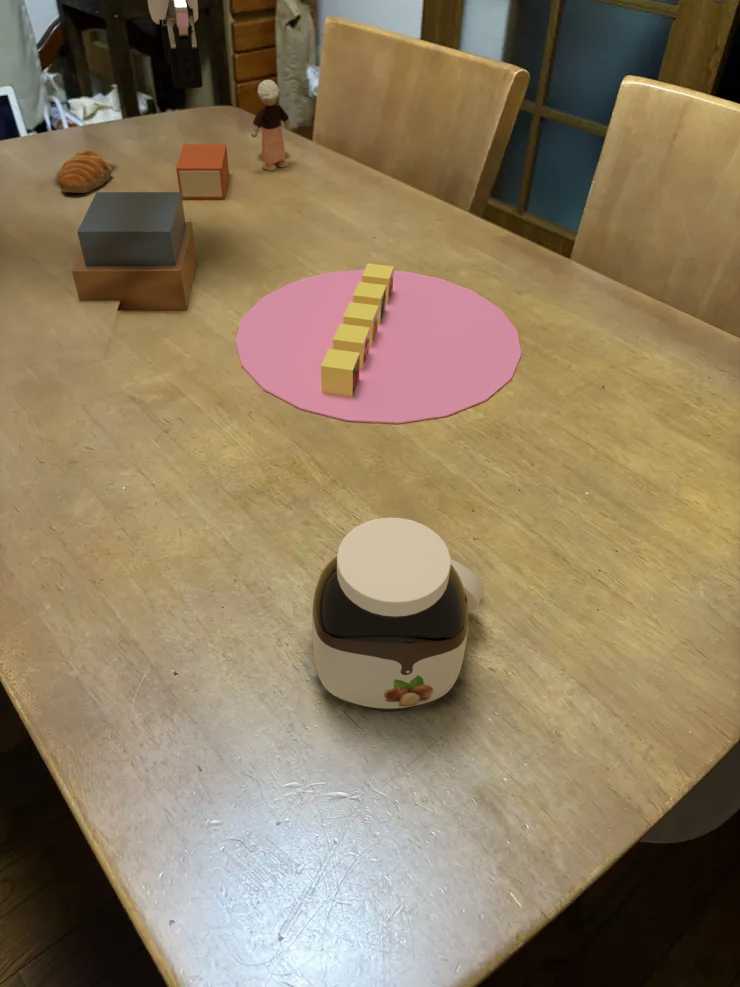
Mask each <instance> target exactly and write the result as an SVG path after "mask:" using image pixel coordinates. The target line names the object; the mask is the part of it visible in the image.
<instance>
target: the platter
mask: <svg viewBox="0 0 740 987" xmlns="http://www.w3.org/2000/svg"><path fill="white" fill-rule="evenodd" d="M234 341H235V342H234V343H235V345H236V350H237V353H238V357H239V361H240V365H241V367H242V369H243V370H244V371H245V372H246V373H247V374H248V375H249V376H250V377H251V378H252V379H253V380H254V381H255V383H256V384H258V385H259V387H260V388H262V389H263V391H265V392H267V393H269V394H271V395H272V396H274V397H276V398H278V399H280V400H281V401H284V402H286V403H287V404H290V406H293V407H295V408H296V409H299V410H301V411H305V412H309V413H313V414H316V415H321V416H324V417H329V418H333V419H337V420H341V421H344V422H351V423H352V422H355V423H371V424H372V423H373V424H375V423H376V424H391V425H392V424H393V425H394V424H396V425H399V424H400V425H401V424H407V423H414V422H421V421H426V420H434V419H441V418H448V417H449V416H452V415H454V414H457V413H459V412H462V411H465V410H467V409H469V408H472V407H474V406H477V405H479V404H482V403H484V402H487V401H488V400H489V399H490V398H491V397H493V395H495V394H496V393H497V392H498V391H499V390H501V389H502V388H503V387H504V386H506V385H507V384H508V383H509V382H510V381H512V379H513V376H514V374H515V372H516V369H517V367H518V364H519V362H520V360H521V357H522V351H521V345H520V339H519V334H518V329H517V328H516V327H515V326H514V324H513V323H512V322H511V320H509V318H508V317H507V315H506V314H505V313H504V312H503V311H502V309H501V308H500V307H499V306H496V305H495V304H494V303H493V302H491V301H489V300H487V299H486V298H484V297H483V296H482V295H481V294H478V293H477V292H476V291H474V290H472V289H470V288H467V287H464V286H461V285H458V284H456V283H454V282H451V281H448V280H446V279H443V278H440V277H435V276H430V275H425V274H420V273H415V272H409V271H406V270H405V271H404V270H395V265H394V266H393V265H386V264H376V263H370V262H369V263H368V262H367V264H366V266H365V268H362V269H351V270H342V271H332V272H324V273H321V274H318V275H314V276H310V277H306V278H303V279H298V280H295V281H291V282H290V283H287V284H286V285H284V286H282V287H280V288H278V289H276V290H274V291H273V292H270V293H268V294H267V295H265V296H263V297H261V298H260V299H259V300H258V301H257V302H256V304H255V305H253V306H252V307H251V308H250V310H248V311H247V312H246V314H244V315H243V316H242V319H241V322H240V325H239V327H238V331H237V334H236V337H235V340H234Z"/></svg>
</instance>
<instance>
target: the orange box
mask: <svg viewBox="0 0 740 987" xmlns="http://www.w3.org/2000/svg"><path fill="white" fill-rule="evenodd" d="M175 169H176V176H177V184H178V190H179V191H178V192H181V195H182V200H225V199H226V194H227V188H228V182H229V177H230V170H229V169H230V168H229V158H228V149H227V144H220V143H219V144H218V143H213V144H209V143H207V144H206V143H204V144H203V143H202V144H201V143H195V144H194V143H184V144H183V145H182V147H181V151H180V155H179V158H178V162H177V165H176V168H175Z"/></svg>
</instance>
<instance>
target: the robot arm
mask: <svg viewBox="0 0 740 987" xmlns="http://www.w3.org/2000/svg"><path fill="white" fill-rule="evenodd" d="M147 6H148V11H149V14H150V17H151V19H152V20H151V21H152V22H154V23H155V24H156V25H160V23H162V24H161V25H162V26H160V29H161V36H162V37H161V38H162V45H163V52H164V59H165V63H166V65H167V66H170V71H171V79H172V85H173V87H174V89H177V90H182V89H201V88H202V86H203V75H202V66H201V57H200V47H199V46H198V45H197V43H198V42H197V36H196V31H195V23H196V22H197V21H198V20H199V5H198V0H147ZM160 21H161V22H160Z"/></svg>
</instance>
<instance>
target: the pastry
mask: <svg viewBox="0 0 740 987" xmlns="http://www.w3.org/2000/svg"><path fill="white" fill-rule="evenodd" d="M112 173H113V168H112V166H111V165H109V163H108V162H107V160H106V159H105V158H104V157H103V156H102V154H101V153H99V152H97V151H94V150H89V149H86V150H84V151H80V152H79V151H78V152H76V153H75V155H74V156H72V157H71V158H70V159H68V160H66V161H65V162H64V163H63V164H62V166H61V168H60V171H59V173H58V185H59V188H60V190H61V192H62V193H76V194H87V193H91V191H93V190H97V189H98V188H100V187H101V186H104V184H106V182H108V181H109V180H110V179H111V175H112Z"/></svg>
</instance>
